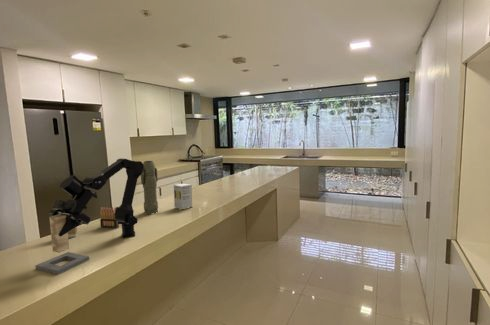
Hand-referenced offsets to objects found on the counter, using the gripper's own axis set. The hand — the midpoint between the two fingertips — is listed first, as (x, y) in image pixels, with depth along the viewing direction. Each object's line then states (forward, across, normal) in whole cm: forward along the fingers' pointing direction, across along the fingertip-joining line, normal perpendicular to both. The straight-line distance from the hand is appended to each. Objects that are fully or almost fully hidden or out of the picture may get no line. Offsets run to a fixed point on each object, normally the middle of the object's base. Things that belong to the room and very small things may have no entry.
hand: (56, 235), depth 107 cm
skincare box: (-7, -28, +26) cm, 39 cm away
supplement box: (-55, -6, +74) cm, 92 cm away
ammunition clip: (-20, -21, +38) cm, 48 cm away
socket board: (+8, +1, +10) cm, 13 cm away
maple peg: (+4, 0, +6) cm, 7 cm away
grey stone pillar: (-43, -20, +61) cm, 77 cm away
